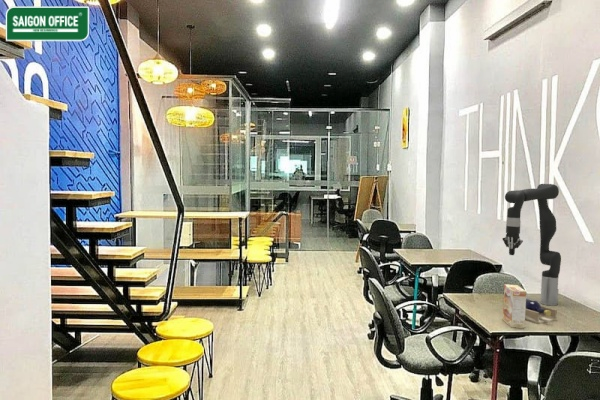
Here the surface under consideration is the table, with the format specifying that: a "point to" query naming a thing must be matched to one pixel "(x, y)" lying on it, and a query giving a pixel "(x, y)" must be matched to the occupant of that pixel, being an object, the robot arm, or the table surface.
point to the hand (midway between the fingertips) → (511, 254)
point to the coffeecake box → (514, 306)
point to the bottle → (536, 307)
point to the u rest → (540, 316)
